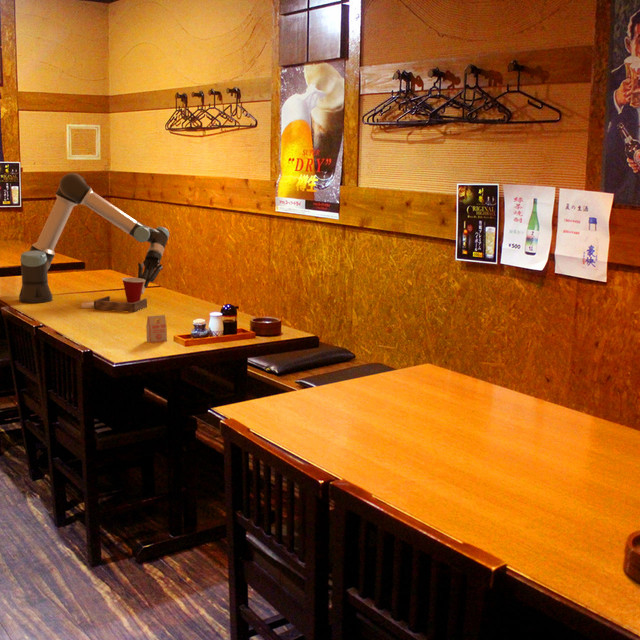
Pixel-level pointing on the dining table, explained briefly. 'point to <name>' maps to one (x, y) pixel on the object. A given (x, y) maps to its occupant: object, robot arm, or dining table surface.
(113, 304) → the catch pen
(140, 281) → the plastic cup
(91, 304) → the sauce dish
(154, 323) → the printed paper bag
